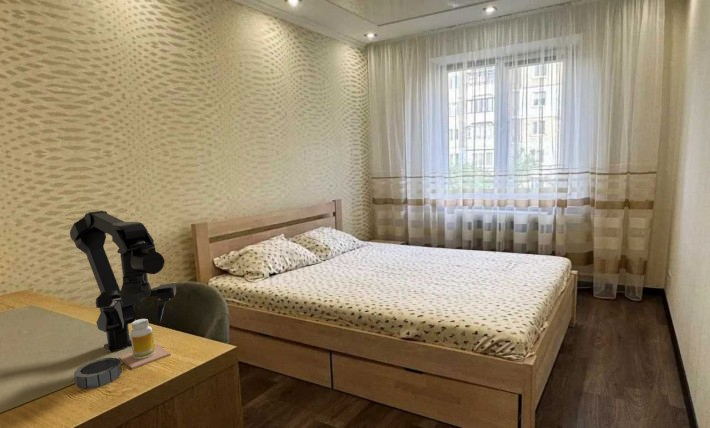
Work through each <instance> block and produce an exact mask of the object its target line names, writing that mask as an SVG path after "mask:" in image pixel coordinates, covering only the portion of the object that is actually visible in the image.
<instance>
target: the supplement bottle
mask: <svg viewBox="0 0 710 428" xmlns="http://www.w3.org/2000/svg"><path fill="white" fill-rule="evenodd" d="M149 324H150V323H149V319H147V318H140V319H139V318H138V319H135V321H134V322H132V323H131V328H132V330H131V331H130V332H129V336H130V340H131V343H132V345H131V350H132V351H131V352H133V357H134V358H135V359H144V358H147V357H150V356H151V355H153V354H154V353H155V348H154V344H155V342H154V334H153V333H154V332H153V328H152V326H149Z"/></svg>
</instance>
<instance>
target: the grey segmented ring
mask: <svg viewBox="0 0 710 428" xmlns="http://www.w3.org/2000/svg"><path fill="white" fill-rule="evenodd" d="M122 373H123V371H122V362H121V360H120V359H119V357H105V358H104V357H103V358H99V359H95V360H91V361H88V362H87V363H85V364H83V365H81V366H79V367H77V369H75V371H74V372H73V376H74V382H75V386H76V387H77V388H78V389H82V390H83V389H84V390H90V389H95V388H96V389H97V388H100V387H103V386H105V385H108V384H110V383H113V382H114V381H115V380H117V379H119V378H120V376H121V375H122Z"/></svg>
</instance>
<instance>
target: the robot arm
mask: <svg viewBox="0 0 710 428" xmlns="http://www.w3.org/2000/svg"><path fill="white" fill-rule="evenodd" d="M106 234H107V235H110V236H111V241H112V242H113V243H114V244H115V245H116V246H117V247H118V249H117V251H116V252H117V254H119V255H120V261H121V269H122V285H121V288H120V286H119V283H118V281H117V278H116V276H115V274H114V271H113V269H112V268H113V267H112V265H111V262H110V261H109V258H108V255H107V252H106V250H105V247H104V246H105V243H106V239H107V235H106ZM69 236H70V239H71V241H73V243H74V244H75V247H76V249H78V250H80V251H82V252H83V253H84V254H85V255H86V257H87V260H88V263H89V266H90V268H91V271H92V274H93V277H94V279H95V281H96V284H97V286H98V290H99V292H100V294H99V295H98V296H97V297H96V298H95V306H96V309H99V312H100V314H99V315H98V318H97V321H96V326H97V329H98V330H99V331H102V332H103V333H106V340H107V343H105V344H104V345H103V346H104V348H105V349H106V350H107V351H109V352H110V353H113V352H115V351H119V350H121V349H125V348H127V347H130V346H131V347H132V343H131V336H130V331H129V324H132V322H134V321H136V316H137V307H136V306H135V305H138V304H139V305H140V304H141V303H143V301H144V298H149V297H150V298H151V297H157V321H158V322H157V323H158V324H160V323H161V321H162V317H163V314H164V309H165V306H166V302H169V301H170V300H171V299H173V298H175V296H176V293H177V288H176V287H177V286H176V284H175V283H164V284H160V285H159V286H158V288H153V289H152V287H151V284H150V282H149V281H148V279H149V278H148V274H149V275H156V274H158V273H160V272H161V271H162V270H163V268H164V266H165V258H164V256H163V255H162V254H161V253H160V252H158V251H156V245H155V243H154V242H155V240H154V239H153V237H152V235H151V234H150V233H149V231H148V229H147V227H146V226H145V224H143V222H138V221H124V220H122V219H120V218H119V217H116V216H113V215H112V214H110V213H108V212H107V211H106V210H96V211H88V212H86V213H85V215H84V216H83V217H82V218H80V219H79V220H77V221H76V222H74V223H73V225H72V226H71V228H70V230H69Z"/></svg>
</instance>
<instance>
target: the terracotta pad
mask: <svg viewBox="0 0 710 428" xmlns="http://www.w3.org/2000/svg"><path fill="white" fill-rule="evenodd" d="M154 348H155V353H154V354H153V355H151V356H150V357H147V358H144V359H135V358H134V357H133V351H131V352H128V353H125V354H122V355H119V356H118V359H119V360H120V359H121V360H122V363H124V364H125V365H126V366H127V367H129V368H130V369H131V370H134V369H137V368H140V367H142V366H144V365H147V364H148V365H149V364H151V363H153V362H156V361H159V360H161V359H163V358H164V359H165V358H167V357H169V356H171V355H172V354H171V352H169V351H168V350H166V349H165V348H164V347H162V346H160V345H159V344H157V343H154ZM121 360H120V361H121Z"/></svg>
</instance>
